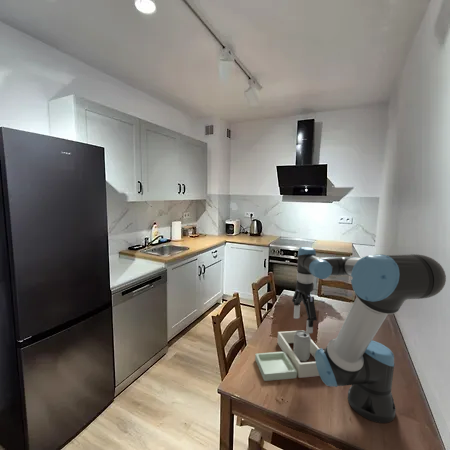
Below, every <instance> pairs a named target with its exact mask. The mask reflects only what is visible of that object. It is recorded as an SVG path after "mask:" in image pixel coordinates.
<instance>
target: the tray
mask: <svg viewBox="0 0 450 450" xmlns="http://www.w3.org/2000/svg"><path fill="white" fill-rule="evenodd" d="M254 356H255V358H254V359H255V363H256V365H257V368H258V369H259V372H260V375H261V377H262V379H263V381H264V382H269V381H278V380H289V379H292V380H293V379H297V378H298V376H297V371H296V369H295V367H294V366H293V364H292V363H291V361H290V359H289V358H288V356H287V355H286V353H285V351H274V352H273V351H272V352H261V353H255V355H254Z"/></svg>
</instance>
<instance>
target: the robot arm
mask: <svg viewBox="0 0 450 450" xmlns="http://www.w3.org/2000/svg"><path fill="white" fill-rule="evenodd" d="M316 252H317V251H316V249H315V248H314V247H309V246H302V247H299V248H298V252H297V267H296V285H295V291H294V293H293V295H292V296H293V297H292V300H291V301H292V303H293V305H294V306H293V319H300V316H301V315H300V313H301V303H302V304H303V305H304V308H305V312H306V316H307V318H306V330H305V331H306V333H307V334H308V333H309V334H313V333H314V331H313V330H314V321H317V320H318V319H317V312H316V307H315V306H316V304H315V297H314V296H311V293H312V292H313V291H314V285H315V284H314V282H315V278H317V279H319V280H325V279H327V278H329V277H330V276H331V277H333V276H334V277H335V276H348V277H351V280H350V282H351V287H352V290H353V291H354V295H355V300H354V302H353V303H352V306H351V308H350V310H349V312H348V314H347V316H346V318H345V320H344V322H343V324H342V326H341V329H340V330H339V331H338V334H337V337H336V338H332V339H330V340H329V342H328V343H327V344H326V345H327V346H326V347H325V348H322V347H320V348H319V349H318V350H316V353H315V358H314V362H316V366H317V369H318V373H319V375H320V376H319V377H320V379H321V381H322V382H323V383H324V384H325V386H327V387H334V388H335V387H336V388H337V387H344V386H350V387H349V389H348V392H347V401H348V404H349V405H350V407H351V408H352V409H353V410H354V411H355V413H358V415H360V416H362V417H363V418H365V419H367V420H369V421H372V422H375V423H379V424H383V423H384V424H385V423H386V424H387V423H390V422H392V421H393V420H394V419H395V417H396V410H397V408H396V404H395V401H394V397H393V392H392V386H393V379H394V378H393V377H394V369H395V355H394V353H393V352H392V350H391V349H390V348H389V347H388V346H385V345H384V344H383V343H381V342H378V341H375V340H373V339H374V338H375V336H376V334H377V333H378V331H379V330H380V328H381V326H382V325H383V323H384V322H385V320H386V318H387V316H388V315H394V314H396V313H397V312H399V311H400V309H401V308H402V305H403V304H404V303H405V302H406V300H417V299H418V300H420V299H428V298H431V297H435V296H437V294H439V293H440V292H441V291H442V290H443V289H444V287H445V285H446V282H447V276H446V271H445V270H444V268H443V266H442V265H441V264H440V263H439V262H438V261H437V260H435V259H434V258H432V257H430V256H427V255H424V254H423V255H422V254H417V253H416V254H413V253H411V254H382V253H380V254H379V253H378V254H377V253H376V254H373V255H366V256H363V257H356V256H339V257H332V256H331V257H321V256H320V257H318V255H317V254H316Z"/></svg>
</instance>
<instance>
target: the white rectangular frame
mask: <svg viewBox="0 0 450 450" xmlns="http://www.w3.org/2000/svg"><path fill="white" fill-rule="evenodd" d="M296 331H297V330H290V331H277V345H278V346H279V348H280V349H281V352H283V351H285V353H286V355H287V356H288V358H289V359H290V361H291V363H292V364H293V366H294V367H295V369H296V371H297V378H310V377H311V378H312V377H320V375H319V373H318V369H317V366H316V361H303V362H302V361H299V359H298V358H297V356H296V355H295V353H294V352H293V349H292V347H291V346H290V344H294V334H296ZM301 331H305V330H301ZM318 349H320V348H319V347H318V345H317V344H316V343H315V342H314V340H313V339H312V338H311V341H310V354H311V355H312V357H313V358H314V359H315V353H316V350H318Z"/></svg>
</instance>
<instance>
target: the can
mask: <svg viewBox="0 0 450 450" xmlns="http://www.w3.org/2000/svg"><path fill="white" fill-rule="evenodd" d="M295 331H296V334H294V343H293V349H292V351H293V352H294V353H295V355H296V356H297V358H298V359H299V361H300V362H308V360H310V356H311V355H310V354H311V353H310V341H311V339H312V338H311V336H310V333H308V334H307V333H306V330H304V331H301V330H295Z"/></svg>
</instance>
